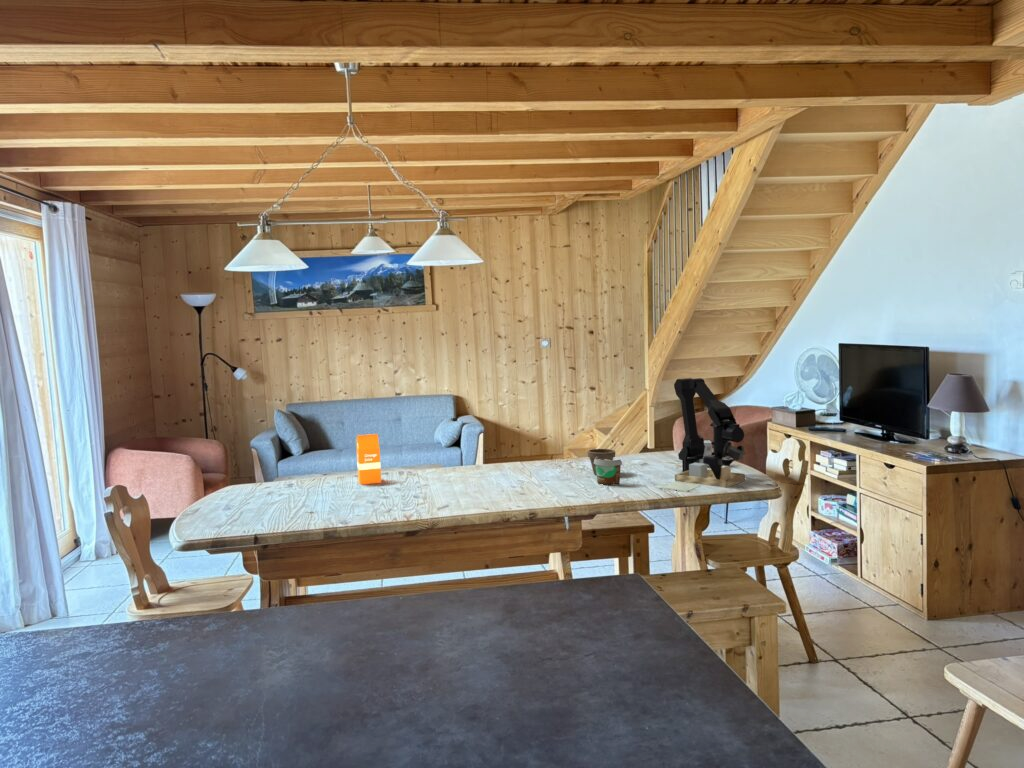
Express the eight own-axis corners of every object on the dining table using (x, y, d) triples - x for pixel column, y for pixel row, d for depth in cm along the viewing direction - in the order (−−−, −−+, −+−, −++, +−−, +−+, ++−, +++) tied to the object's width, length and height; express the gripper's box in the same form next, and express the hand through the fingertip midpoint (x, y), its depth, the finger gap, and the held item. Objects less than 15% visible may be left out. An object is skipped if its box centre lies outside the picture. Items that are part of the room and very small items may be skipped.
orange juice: (381, 482, 318) (379, 435, 316) (360, 484, 315) (357, 436, 313) (378, 478, 325) (376, 432, 323) (358, 480, 322) (355, 434, 321)
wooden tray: (675, 482, 297) (674, 474, 297) (694, 475, 309) (694, 468, 309) (726, 488, 283) (726, 480, 283) (744, 481, 295) (744, 473, 294)
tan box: (712, 482, 292) (712, 466, 292) (718, 480, 296) (718, 464, 296) (724, 483, 289) (724, 468, 289) (730, 481, 293) (730, 466, 292)
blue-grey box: (689, 479, 299) (689, 464, 299) (695, 477, 303) (695, 462, 302) (700, 481, 296) (700, 465, 295) (706, 478, 300) (706, 463, 299)
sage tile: (661, 488, 287) (661, 487, 287) (675, 483, 295) (675, 481, 295) (687, 492, 280) (687, 490, 280) (701, 486, 288) (701, 485, 288)
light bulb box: (710, 464, 332) (710, 439, 331) (712, 467, 325) (712, 442, 324) (685, 464, 333) (685, 440, 332) (687, 467, 326) (687, 442, 325)
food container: (587, 483, 301) (587, 458, 300) (597, 480, 305) (596, 456, 305) (613, 487, 292) (612, 461, 292) (622, 484, 297) (621, 459, 296)
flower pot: (613, 471, 324) (612, 447, 323) (618, 476, 312) (617, 452, 312) (586, 472, 324) (586, 448, 323) (590, 477, 312) (589, 453, 311)
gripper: (729, 444, 279) (730, 486, 280) (751, 437, 293) (752, 477, 294) (702, 441, 286) (702, 482, 288) (724, 435, 300) (725, 474, 302)
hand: (721, 479), depth 293 cm, fingers closed on tan box, 5 cm apart
